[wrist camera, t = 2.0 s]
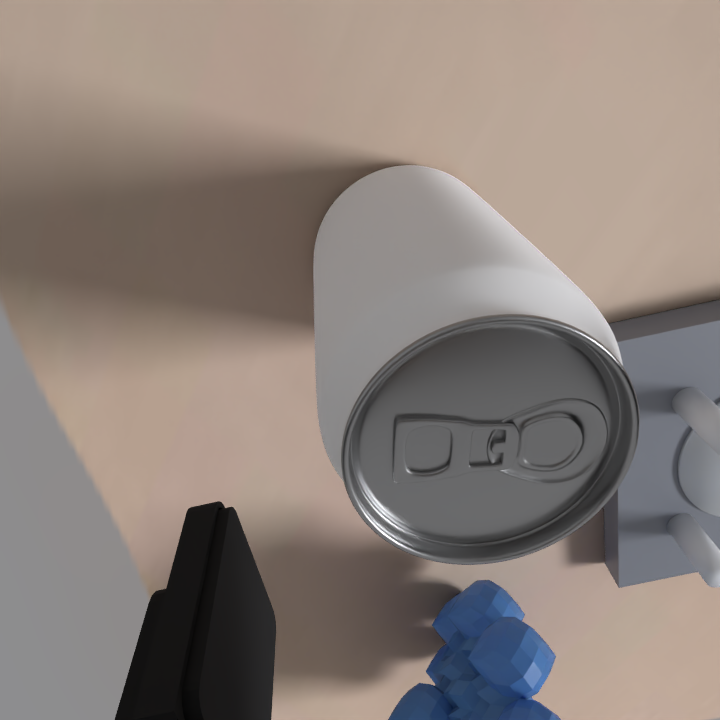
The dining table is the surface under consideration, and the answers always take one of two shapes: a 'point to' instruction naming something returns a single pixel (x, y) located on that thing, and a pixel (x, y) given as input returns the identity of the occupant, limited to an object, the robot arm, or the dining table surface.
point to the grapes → (482, 663)
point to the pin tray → (670, 450)
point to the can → (461, 374)
